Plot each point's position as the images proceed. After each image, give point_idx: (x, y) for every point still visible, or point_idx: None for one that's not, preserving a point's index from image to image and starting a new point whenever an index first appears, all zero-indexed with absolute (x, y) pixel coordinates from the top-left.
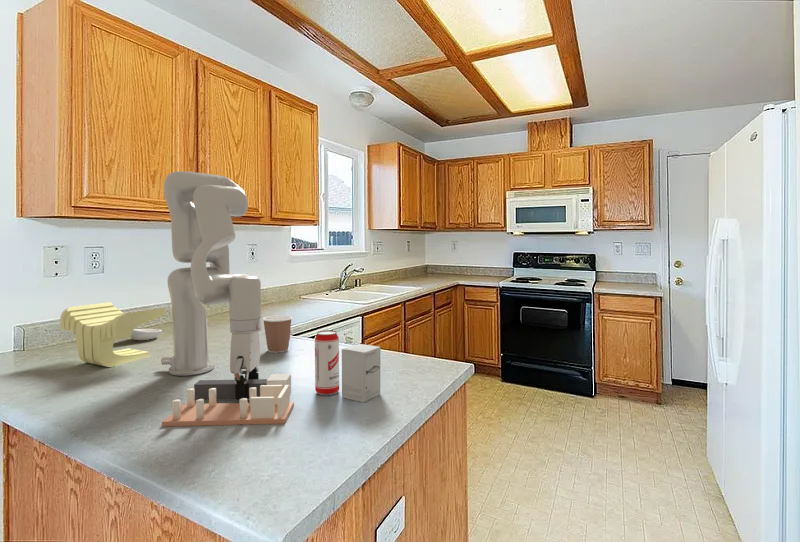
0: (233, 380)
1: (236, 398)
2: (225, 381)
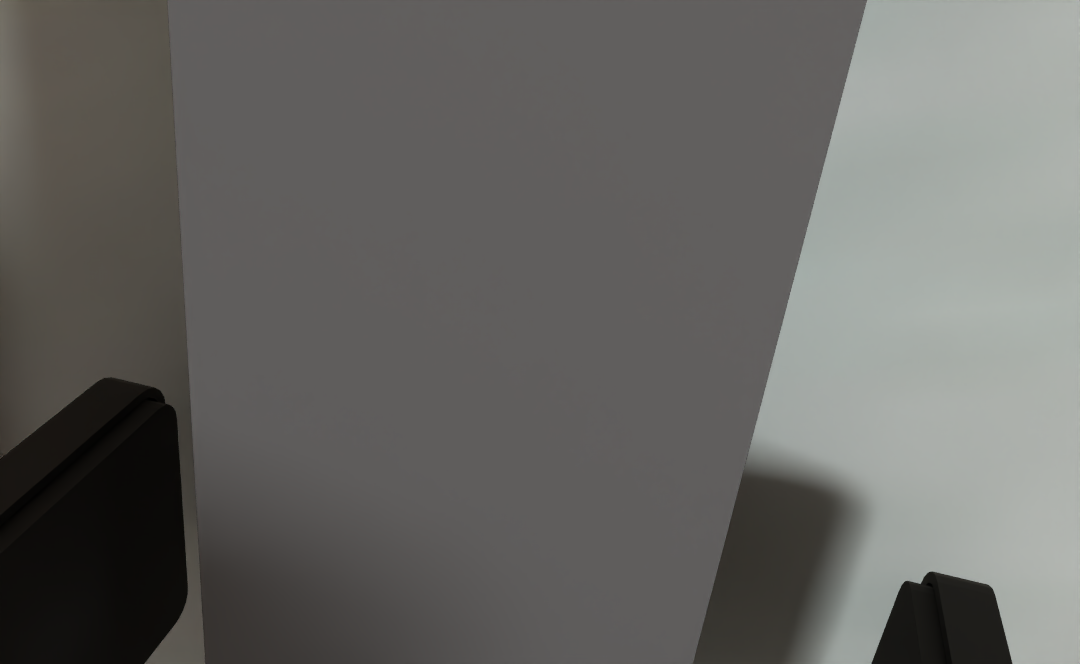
0: (617, 481)
1: (97, 399)
2: (537, 181)
